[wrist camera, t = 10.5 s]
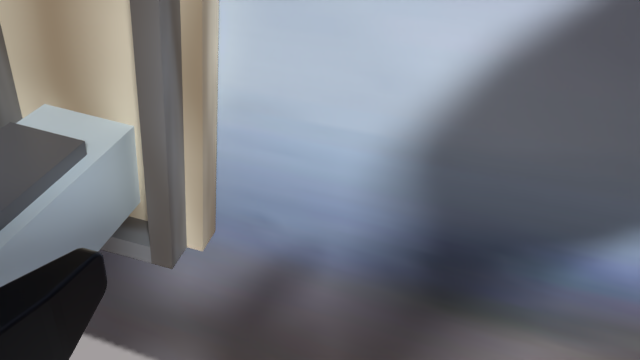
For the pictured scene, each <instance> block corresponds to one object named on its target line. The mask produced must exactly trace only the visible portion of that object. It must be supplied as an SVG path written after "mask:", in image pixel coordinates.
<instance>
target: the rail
mask: <svg viewBox="0 0 640 360" xmlns="http://www.w3.org/2000/svg"><path fill="white" fill-rule="evenodd" d="M218 31H219V0H0V128H2V127H3V126H5V125H7V124H8V123H10V122H12V123H17V122H18V121H20V120H21V119H23V118H24V117H26V116H27V115H29V114H30V113H32V112H33V111H35V110H36V109H38V108H39V107H41V106H42V105H44V104H47V105H51V106H55V107H59V108H63V109H67V110H71V111H75V112H79V113H83V114H87V115H91V116H95V117H99V118H104V119H108V120H112V121H116V122H120V123H124V124H128V125H132V126H134V132H135V143H136V155H137V167H138V179H139V191H140V203H139V205H138V206H137V207H136V208H135V209H134V210H133V212H132V213H131V214H130V215H129V216H128V217H127V219H126V220H125V221H124V222H123V223H122V224H121V226H120V227H119V228H118V229H117V230H116V231H115V233H114V234H113V235H112V236H111V237H110V238H109V240H108V241H107V242H106V243H105V244H104V245H103V247H102V248H101V250H104V251H108V252H112V253H115V254H119V255H123V256H126V257H130V258H133V259H137V260H141V261H144V262H148V263H152V264H155V265H159V266H163V267H166V268H170V269H173V267H174V266H175V264H176V263H177V261H178V260H179V258H180V257H181V255H182V254H183V252H184V251H185V249H186V248H187V247H188V248H192V249H196V250H199V251H203V250H204V249H205V247H206V245H207V244H208V242H209V241H210V239H211V237H212V236H213V234H214V232H215V215H216V154H217V92H218Z"/></svg>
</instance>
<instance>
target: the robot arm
mask: <svg viewBox="0 0 640 360" xmlns="http://www.w3.org/2000/svg"><path fill="white" fill-rule="evenodd" d="M106 287H107V277H106V271H105V265H104V259H103V255H102V254H101V253H100V252H98V251H94V250H90V249H87V248H78V249H75V250H73V251H71V252H69V253H67V254H65V255H63V256H61V257H59V258H57V259H55V260H53V261H51V262H49V263H47V264H45V265H43V266H41V267H39V268H37V269H35V270H33V271H31V272H29V273H27V274H25V275H23V276H21V277H19V278H17V279H15V280H13V281H11V282H9V283H7V284H5V285H3V286H1V287H0V360H69V358H70V356H71V355H72V353H73V351H74V349H75V347H76V345H77V343H78V342H79V340H80V338H81V336H82V334H83V332H84V331H85V329H86V327H87V325H88V323H89V321H90V319H91V317H92V316H93V314H94V312H95V310H96V308H97V306H98V304H99V303H100V301H101V299H102V297H103V295H104V293H105V290H106Z"/></svg>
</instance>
